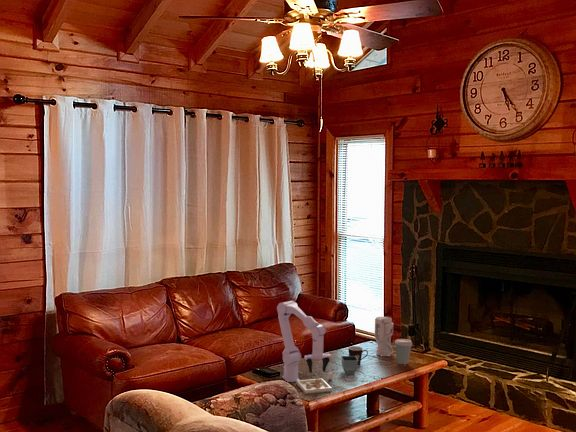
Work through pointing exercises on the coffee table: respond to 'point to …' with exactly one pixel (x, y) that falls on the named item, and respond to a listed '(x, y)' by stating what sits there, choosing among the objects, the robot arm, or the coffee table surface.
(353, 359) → the flower pot
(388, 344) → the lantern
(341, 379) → the coffee table surface
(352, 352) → the coffee mug
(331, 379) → the peg
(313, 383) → the collar
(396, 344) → the disposable coffee cup
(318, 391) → the tray
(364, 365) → the coffee table surface
